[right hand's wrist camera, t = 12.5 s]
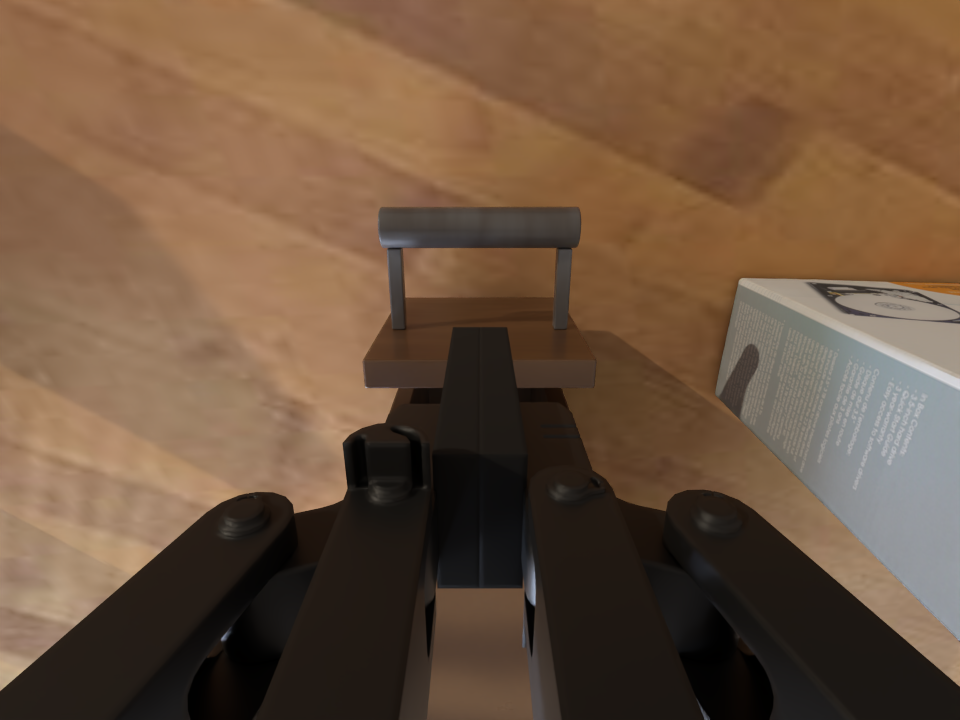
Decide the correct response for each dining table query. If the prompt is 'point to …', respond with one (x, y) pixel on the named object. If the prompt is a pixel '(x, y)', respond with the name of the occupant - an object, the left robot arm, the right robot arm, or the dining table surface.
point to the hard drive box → (861, 412)
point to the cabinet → (479, 656)
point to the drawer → (479, 304)
